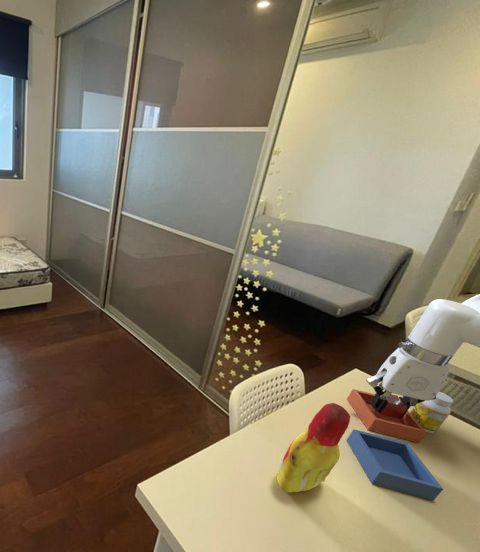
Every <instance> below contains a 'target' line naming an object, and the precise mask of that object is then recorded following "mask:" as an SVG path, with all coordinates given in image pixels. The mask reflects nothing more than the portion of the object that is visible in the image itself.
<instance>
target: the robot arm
mask: <svg viewBox="0 0 480 552" xmlns="http://www.w3.org/2000/svg"><path fill="white" fill-rule="evenodd" d="M463 343H467V344H468V345H471V346H474V347H477V348H480V293H479V294H476V295H474V296H472V297H470V298H468V299H466V300H464V301H463V302H457V301H454V300H451V299H450V300H449V299H443V298H441V299H434V300H432V301H431V302H430V303H429V304H428V305H427V307H426V308H425V310H424V311H423V313H422V314H421V317H420V318H419V319H418V321H417V322H416V324H415V325H414V327H413V329H412V330H411V332H410V333H409V334H408V337H407V338H406V339H405V341H404V342H403V341H399V342H398V347H397V348H396V349H395V350H394V351H393V352H392V353H391V354H390V355H389V356H388V357H387V359H386V360H385V361H384V362H383V363H382V364H381V366H380V368H379V369H378V371H377V373H376V374H375V375H372V376H370V377H368V378H367V379H365V381H366V383H368V385H369V386H370V387H371V388H373V390H374V392H375V393H374V394H375V395H374V397H373V398H372V400H371V402H370V404H371V405H372V407H373V408H374V409H375V411H376V412H381V410H382V409H383V407H384V406H385V404H386V403H387V400H386V398H387V397H388V396H390V395H391V394H392V395H393V394H394V395H398V397H399V398H400V399H401V400H402V401H403V403H404V404H405V405H406V406H407V407H408V408H407V409H406V411H405V412H404V413H403V415H402V416H401V417H400V418H403V416H404V415H405V414H406V412H407V411H409V409H410V408H411V407H412V408H414V407H415V406H416V404H417V403H421V402H424V401H425V400H426V401H429V400H434V399H436V395H437V394H438V392H441V389H442V387H443V385H444V384H445V382H446V380H447V377H448V375H449V373H450V367H451V366H450V364H449V362H450V361H451V360H452V359H453V357H454V356H455V354H456V353H457V352H458V350H459V349H460V347H461V346H462V345H463Z"/></svg>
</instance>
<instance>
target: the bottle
mask: <svg viewBox="0 0 480 552" xmlns="http://www.w3.org/2000/svg"><path fill="white" fill-rule="evenodd" d="M350 423H351V414H350V413H349V412H348V411H347V409H345V408H344V407H343V406H342V405H339V404H337V403H335V402H330V403H326V404H324V405H323V406H321V408H320V409H319V410H318V412H316V413H315V415H314V416H313V418H312V419H311V421H310V423H309V425H308V427H307V430H305V431H303V432H302V433H300V434H299V435H297V436H296V437H295V438H294V439H293V440H292V442H291V443H290V444H289V446H288V448H287V450H286V452H285V453H284V456H283V458H282V459H281V463H280V465H279V467H278V469H277V477H276V479H277V483H278V485H279V486H280V488H281V489H282V490H283V491H285V492H286V493H299V492H306V491H311V490H312V489H313V488H316V487H319V485H320V484H321V483H324V482H325V481H326V478H327V477H328V476H329V475H330V473H331V471H332V470H333V468H334V467H335V466H336V464H337V463H338V461H339V460H340V457H341V451H340V445H339V443H340V441H341V440H342V438H343V436H344V434H345V433H346V431H347V429H348V428H349V425H350Z"/></svg>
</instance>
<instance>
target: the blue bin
mask: <svg viewBox="0 0 480 552" xmlns="http://www.w3.org/2000/svg"><path fill="white" fill-rule="evenodd" d="M346 441H347V443H348V445H349V447H350V448H351V450H352V452H353V454H354V455H355V457H356V459H357V461H358V462H359V464H360V466H361V468H362V469H363V470H364V472H365V475H366V476H367V478H368V479H369V481H370V483H371V484H374V485H376V486H380V487H383V488H387V489H390V490H395V491H398V492H401V493H405V494H408V495H412V496H415V497H418V498H422V499H426V500H430V501H433V502H434V500H435V499H436V498H438V496H439V495H440V494H441V493H442V492H443V490H444V488H443V487H442V485H441V484H440V483H439V481H438V480H437V479H436V478H435V476H434V475H433V474H432V472H431V471H430V470H429V469H428V467H427V466H426V465H425V464H424V462H423V461H422V459H420V457H419V456H418V455H417V453H416V452H415V451H414V450H413V448H412V447H411V446H410V444H409V443H408V442H405V441H402V440H398V439H393V438H390V437H386V436H382V435H378V434H374V433H370V432H366V431H362V430H359V429H355V428H353V429H352V431H351V432H350V434H349V435H348V437H347V439H346Z"/></svg>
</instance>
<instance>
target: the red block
mask: <svg viewBox="0 0 480 552" xmlns="http://www.w3.org/2000/svg"><path fill="white" fill-rule="evenodd" d="M399 397H400V396H399V395H397V394H393V393H392V394H391V395H390V396H388V397H387V398H386V400H387V403H386V404H385V406H384V407H383V409H382V410H381V412H379V413H380V414H381V415H384V416H388V417H392V418H396V419H400V417H401V416H402V415H403V413H404V412H405V411H406V409H407V408H408V407H407V406H406V405H405V404H404V403H403V401H402V400H401V399H400V398H399Z"/></svg>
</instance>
